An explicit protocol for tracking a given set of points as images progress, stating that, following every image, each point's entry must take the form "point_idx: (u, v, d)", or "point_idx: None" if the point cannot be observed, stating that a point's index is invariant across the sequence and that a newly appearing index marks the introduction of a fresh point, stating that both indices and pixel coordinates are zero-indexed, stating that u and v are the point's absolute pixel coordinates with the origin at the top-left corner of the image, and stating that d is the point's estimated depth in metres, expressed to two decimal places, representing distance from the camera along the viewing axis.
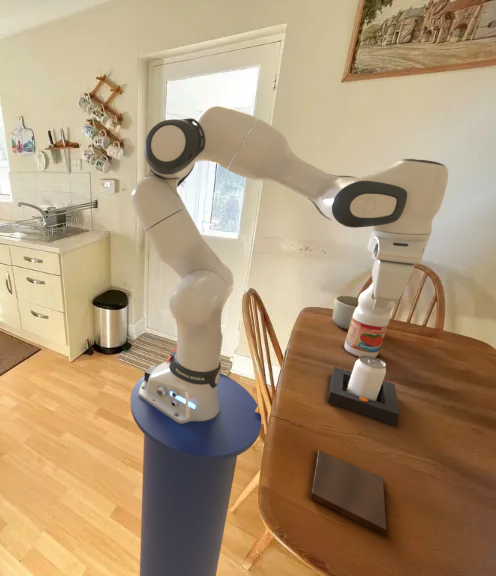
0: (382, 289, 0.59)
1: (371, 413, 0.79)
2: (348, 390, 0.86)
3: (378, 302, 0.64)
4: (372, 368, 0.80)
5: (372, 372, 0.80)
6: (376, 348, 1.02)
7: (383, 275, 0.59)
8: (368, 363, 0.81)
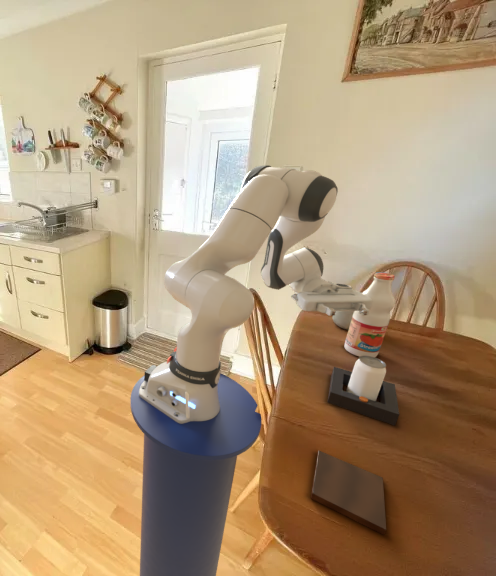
0: None
1: (371, 413, 0.79)
2: (348, 390, 0.86)
3: None
4: (372, 368, 0.80)
5: (372, 372, 0.80)
6: (376, 348, 1.02)
7: None
8: (368, 363, 0.81)
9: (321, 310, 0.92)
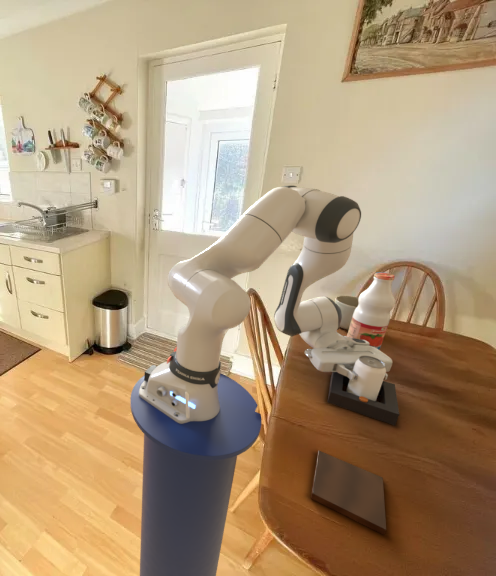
0: None
1: (371, 413, 0.79)
2: (348, 390, 0.86)
3: None
4: (372, 368, 0.80)
5: (372, 372, 0.80)
6: None
7: None
8: (368, 363, 0.81)
9: (342, 372, 0.85)
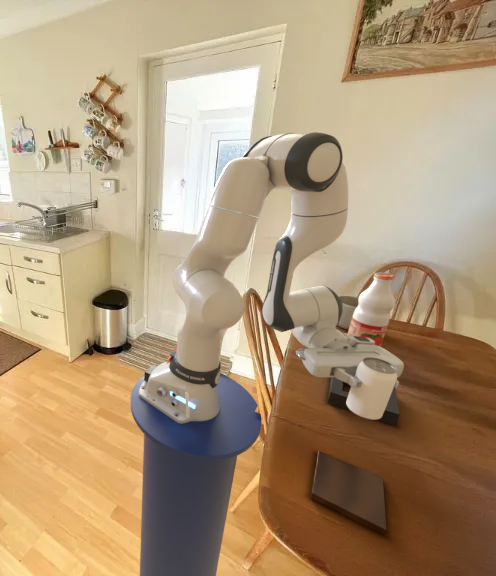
0: None
1: None
2: (349, 400, 0.69)
3: None
4: (379, 374, 0.63)
5: (379, 379, 0.63)
6: None
7: None
8: (374, 367, 0.65)
9: (341, 378, 0.69)
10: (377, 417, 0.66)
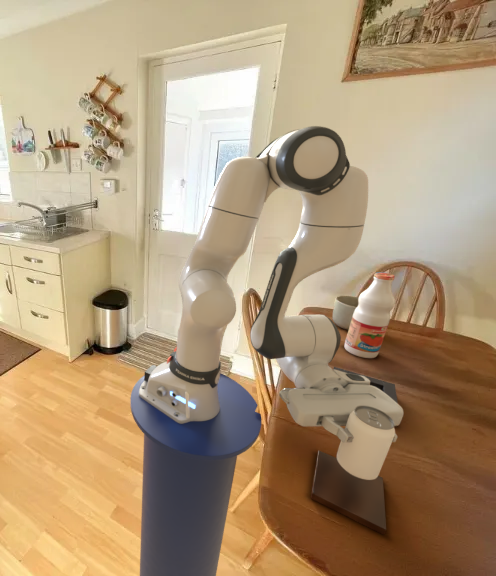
0: None
1: None
2: (339, 454, 0.59)
3: None
4: (373, 429, 0.53)
5: (374, 435, 0.53)
6: (376, 348, 1.02)
7: None
8: (368, 419, 0.55)
9: (330, 429, 0.59)
10: (372, 477, 0.56)
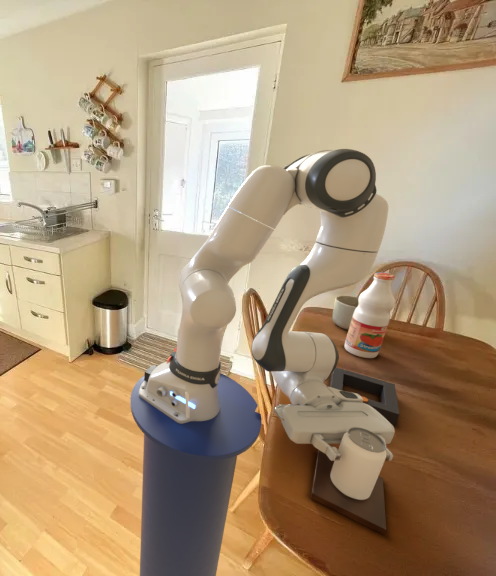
0: None
1: None
2: (333, 474, 0.61)
3: None
4: (365, 452, 0.55)
5: (366, 457, 0.55)
6: (376, 348, 1.02)
7: None
8: (360, 442, 0.57)
9: (319, 447, 0.60)
10: (364, 497, 0.58)
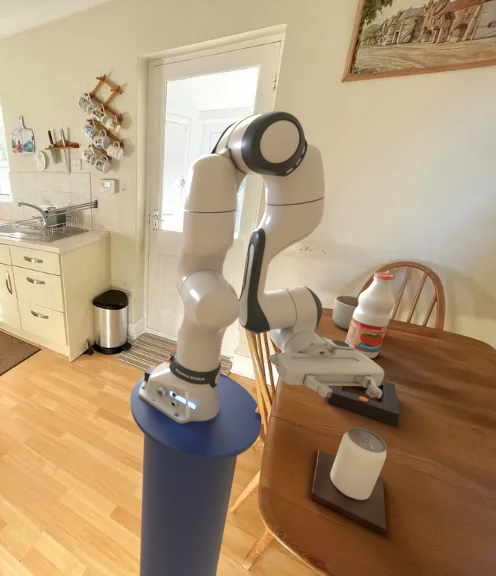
0: None
1: (371, 413, 0.79)
2: (333, 474, 0.61)
3: None
4: (365, 452, 0.55)
5: (366, 457, 0.55)
6: (376, 348, 1.02)
7: None
8: (361, 442, 0.57)
9: (311, 386, 0.62)
10: (364, 497, 0.58)
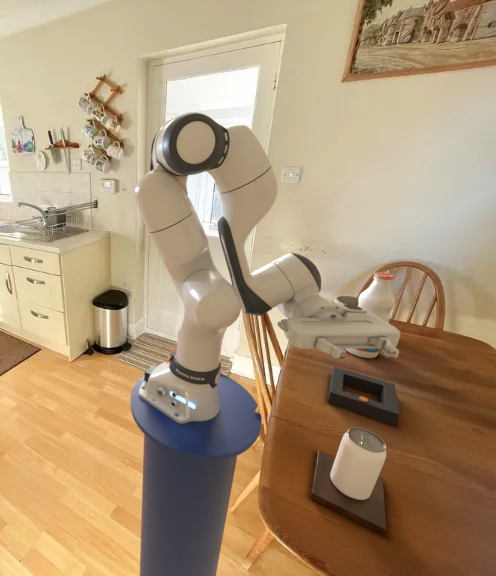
0: None
1: (371, 413, 0.79)
2: (333, 474, 0.61)
3: None
4: (365, 452, 0.55)
5: (366, 457, 0.55)
6: (376, 348, 1.02)
7: None
8: (361, 442, 0.57)
9: (323, 349, 0.59)
10: (364, 497, 0.58)
